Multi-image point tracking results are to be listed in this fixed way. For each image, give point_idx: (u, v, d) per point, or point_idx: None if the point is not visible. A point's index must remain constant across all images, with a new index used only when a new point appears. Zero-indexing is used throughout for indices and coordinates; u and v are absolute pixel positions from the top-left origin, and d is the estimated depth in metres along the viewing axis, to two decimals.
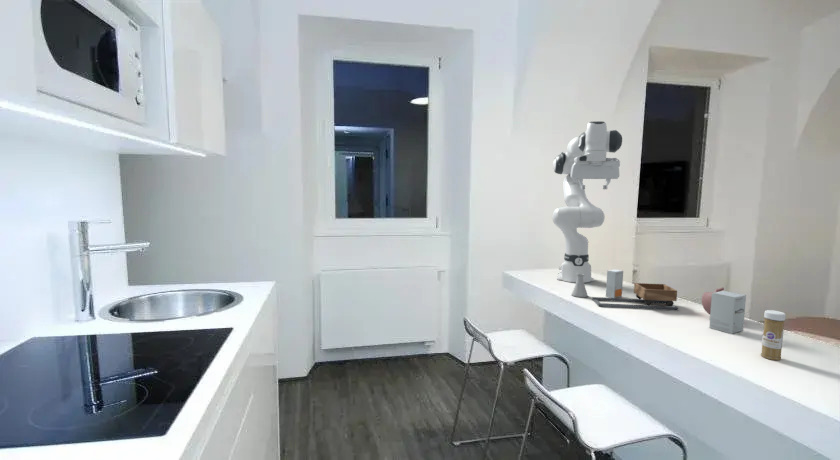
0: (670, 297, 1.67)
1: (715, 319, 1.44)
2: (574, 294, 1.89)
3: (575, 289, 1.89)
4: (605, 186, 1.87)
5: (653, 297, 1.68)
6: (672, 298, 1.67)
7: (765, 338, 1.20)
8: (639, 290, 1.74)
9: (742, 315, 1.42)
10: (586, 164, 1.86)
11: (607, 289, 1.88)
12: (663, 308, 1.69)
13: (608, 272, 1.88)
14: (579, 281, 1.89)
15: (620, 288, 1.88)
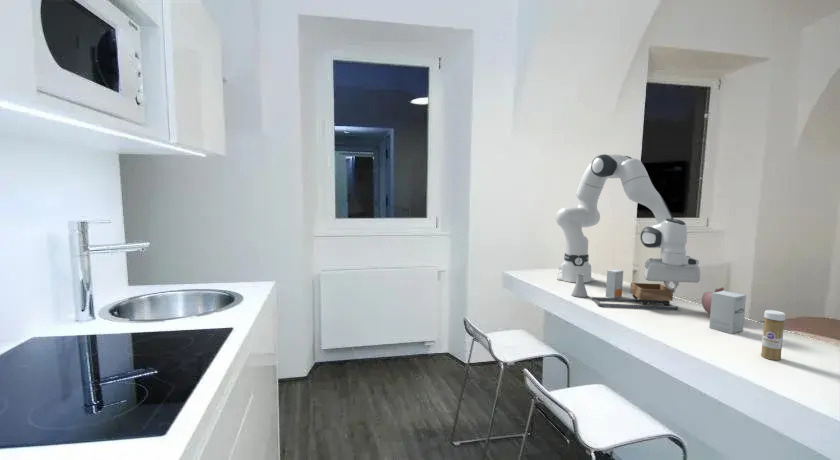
0: (666, 297, 1.68)
1: (715, 319, 1.44)
2: (574, 294, 1.89)
3: (575, 288, 1.89)
4: None
5: (649, 297, 1.69)
6: (668, 298, 1.68)
7: (765, 338, 1.20)
8: (635, 290, 1.75)
9: (742, 315, 1.42)
10: None
11: (607, 289, 1.88)
12: (663, 308, 1.69)
13: (608, 272, 1.88)
14: (579, 281, 1.88)
15: (620, 288, 1.88)
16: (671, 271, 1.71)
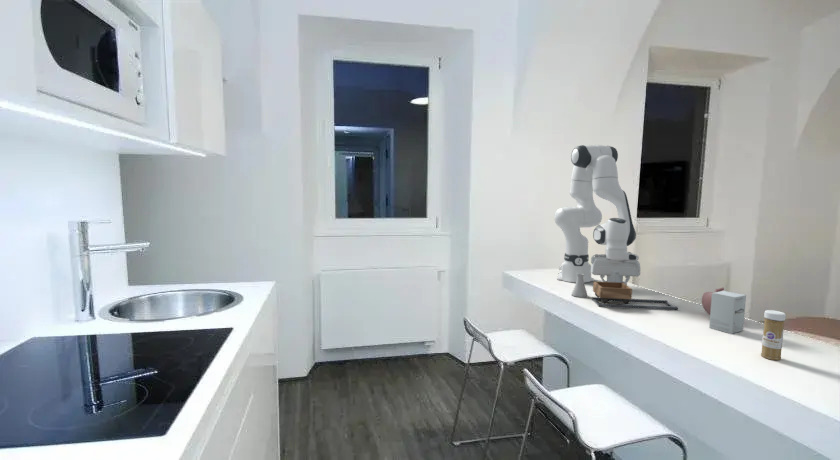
0: (625, 295, 1.70)
1: (715, 319, 1.44)
2: (574, 294, 1.89)
3: (575, 288, 1.89)
4: None
5: (609, 295, 1.71)
6: (627, 296, 1.70)
7: (765, 338, 1.20)
8: (596, 288, 1.77)
9: (742, 315, 1.42)
10: None
11: None
12: (663, 308, 1.69)
13: None
14: (579, 281, 1.88)
15: None
16: (614, 266, 1.86)
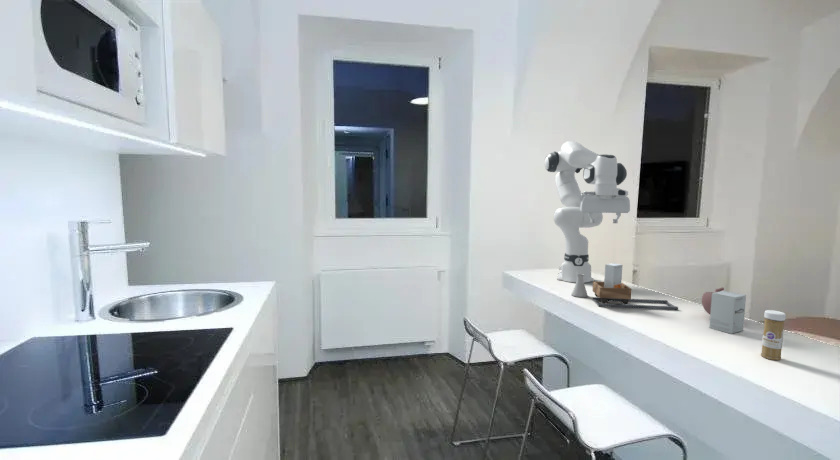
0: (625, 295, 1.70)
1: (715, 319, 1.44)
2: (574, 294, 1.89)
3: (575, 288, 1.89)
4: None
5: (608, 295, 1.71)
6: (627, 296, 1.70)
7: (765, 338, 1.20)
8: (596, 288, 1.77)
9: (742, 315, 1.42)
10: None
11: (605, 284, 1.76)
12: (663, 308, 1.69)
13: (606, 266, 1.75)
14: (579, 281, 1.89)
15: (619, 283, 1.75)
16: (603, 203, 1.84)
